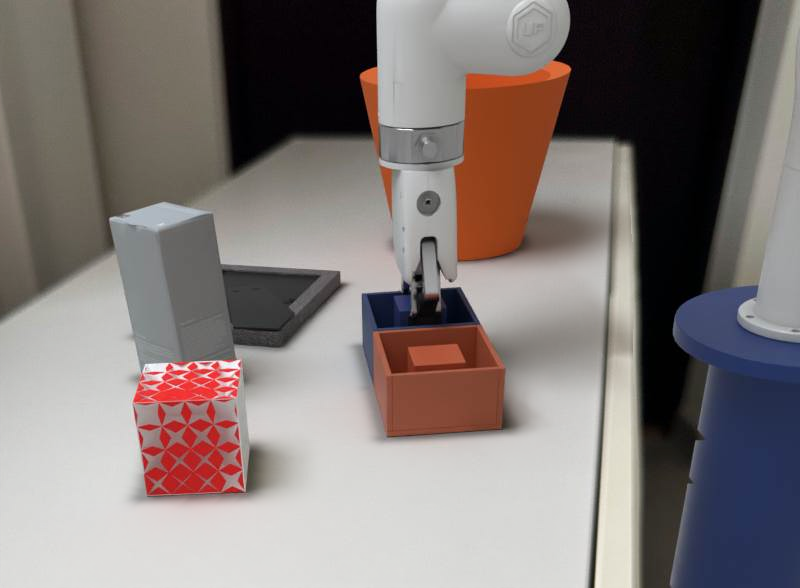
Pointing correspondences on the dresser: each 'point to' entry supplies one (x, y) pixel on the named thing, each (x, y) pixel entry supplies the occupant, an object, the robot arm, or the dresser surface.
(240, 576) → the dresser surface
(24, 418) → the dresser surface
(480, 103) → the flowerpot
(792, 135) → the robot arm
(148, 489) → the red and white cube
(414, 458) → the dresser surface
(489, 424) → the rust bin
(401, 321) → the navy block
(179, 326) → the cosmetic box
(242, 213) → the dresser surface
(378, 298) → the navy bin
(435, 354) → the rust block
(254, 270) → the picture frame
